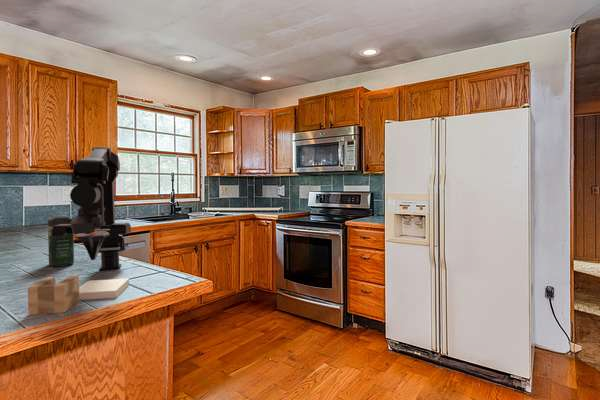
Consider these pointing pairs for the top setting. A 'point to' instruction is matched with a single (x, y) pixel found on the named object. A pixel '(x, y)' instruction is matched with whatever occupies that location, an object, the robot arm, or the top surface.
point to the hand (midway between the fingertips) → (93, 259)
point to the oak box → (53, 295)
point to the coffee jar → (60, 243)
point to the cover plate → (102, 288)
